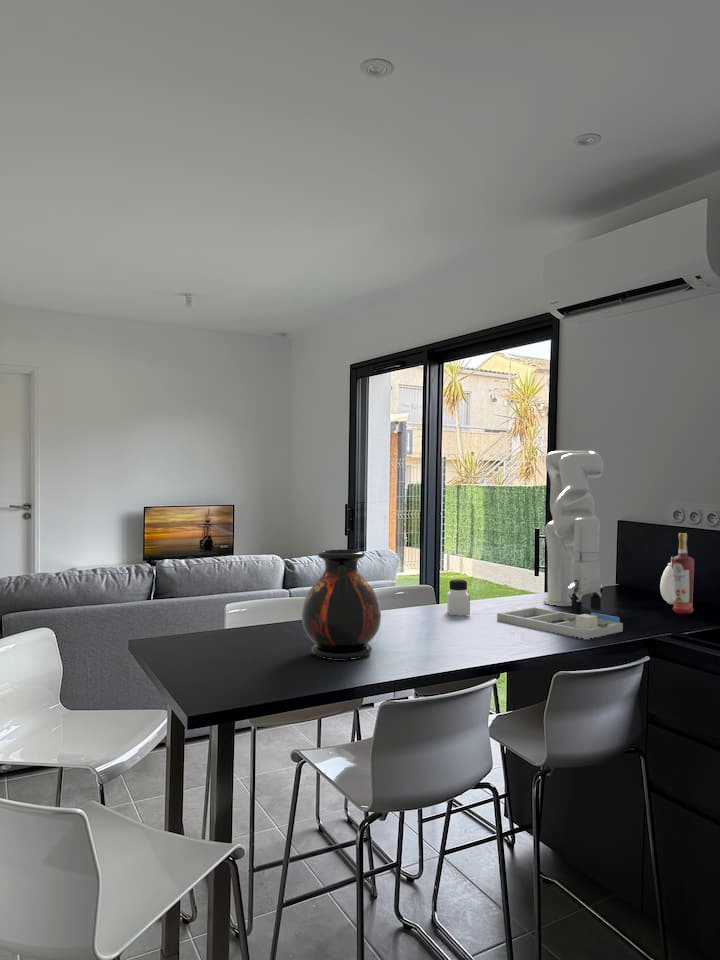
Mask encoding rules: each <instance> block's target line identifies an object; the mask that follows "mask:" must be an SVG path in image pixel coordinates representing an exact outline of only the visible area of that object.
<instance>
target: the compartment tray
mask: <svg viewBox="0 0 720 960" xmlns="http://www.w3.org/2000/svg"><path fill="white" fill-rule="evenodd" d="M531 615H532V616H531ZM537 615H538V616H537ZM577 615H578V614H573V613H570V612H569V613H568V612H562V611H558V610H553V609H548V608H547V609H546V608H541V607H536V606H530V607H525V608H520V609H519V608H518V609H513V610H508V611H501V612H497V614H496V616H497V617H496V621H498V622H501V621H502V623H506V622H507V624H512V625H516V626H521V627H527V628H529V629H534V628H535V629H534V630H540V631H543V632H548V631H549V633H553V632H554V634H558V633H559V634H558V635H562V634H563V635H564V636H567V637H572V636H573V637H572V638H576V637H578V638H577V639H581V638H583V639H582V640H586V639H587V640H590V638H592V639H594V638H595V637H596V638H599V637H604V636H608V635H611V634H612V635H614V634H617V633H621V632H624V631H623V629H624V626H623V625H624V623H623V622H620V617H619V616H614V615H608V614H603V613H602V614H601V613H596V612H590V615H594V616H597V627H595V628H591V629H586V630H583V629H578V628H576V616H577ZM525 616H527V617H525ZM558 620H559V621H562V620H564V621H562V622H558ZM552 621H554V622H557V623H553V622H552ZM548 622H549V623H548Z"/></svg>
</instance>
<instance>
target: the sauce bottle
mask: <svg viewBox="0 0 720 960" xmlns="http://www.w3.org/2000/svg"><path fill="white" fill-rule="evenodd" d="M672 558H673V555H672V556H671V558H670V562H668V563H667V566H666V567H665V569H664V570H663V573H662V575H661V577H660V584H659V589H660V595H661V597H662V599H663V601H666V603H667V604H669V605H674V599H673V579H672V561H671V559H672Z"/></svg>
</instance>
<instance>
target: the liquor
mask: <svg viewBox="0 0 720 960" xmlns="http://www.w3.org/2000/svg"><path fill="white" fill-rule="evenodd" d="M687 540H688V534H687V533H686V532H678V541H679V542H678V543H679V544H678V553H677V555H676V556H672V559H671V558H670V562H671V561H672V579H673V599H674V604H673V607H672V610H673V611H674V613H675V614H677V615H685V616H686V615H690V614H692V613H693V612H694V611H695V609H694V608H693V599H694V597H693V596H694V595H693V593H694V575H695V559H694V558H693V557H692V556H689V555H688V546H687Z"/></svg>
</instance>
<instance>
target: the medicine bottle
mask: <svg viewBox="0 0 720 960" xmlns="http://www.w3.org/2000/svg"><path fill="white" fill-rule="evenodd" d="M470 601H471V596H470V594H469V593H468V582H467V580H465V579H461V578H458V579H457V578H453V579H451V580H449V591H447V593H446V604H447V605H446V610H447V614H448V613H449V614H448V615H449V616H450V615H469V616H470V615H471V612H470V611H471V607H470V606H471V605H470V604H471V602H470Z"/></svg>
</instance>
